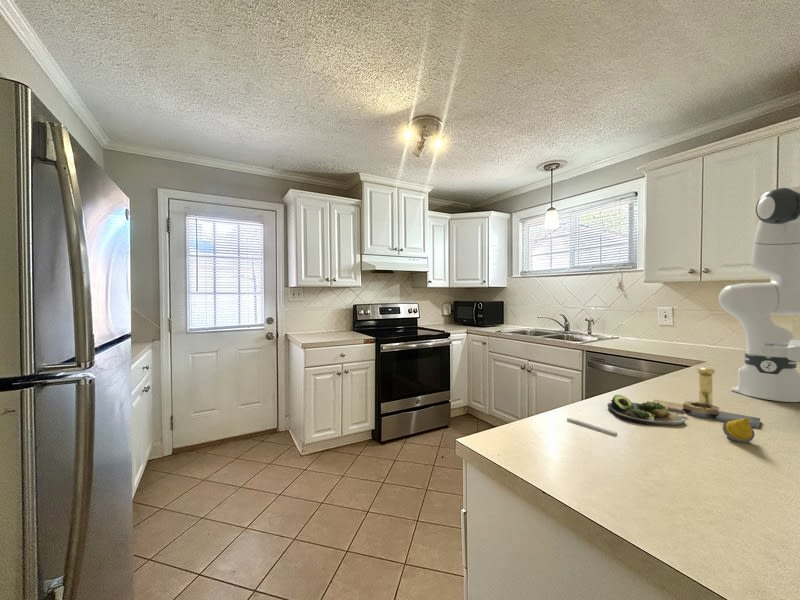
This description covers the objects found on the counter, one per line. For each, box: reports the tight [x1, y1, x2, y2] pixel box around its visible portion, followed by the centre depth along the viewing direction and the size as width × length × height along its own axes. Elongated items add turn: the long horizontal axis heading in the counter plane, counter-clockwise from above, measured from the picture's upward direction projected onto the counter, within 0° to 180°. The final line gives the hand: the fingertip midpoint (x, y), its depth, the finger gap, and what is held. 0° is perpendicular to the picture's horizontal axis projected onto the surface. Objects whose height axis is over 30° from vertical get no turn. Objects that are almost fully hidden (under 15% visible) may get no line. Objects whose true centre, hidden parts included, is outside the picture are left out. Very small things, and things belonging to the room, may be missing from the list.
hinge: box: [651, 398, 761, 429], centre depth 98 cm, size 7×23×2 cm, turn 40°
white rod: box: [566, 417, 618, 437], centre depth 89 cm, size 12×1×1 cm, turn 32°
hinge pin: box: [696, 366, 715, 405], centre depth 104 cm, size 4×4×12 cm
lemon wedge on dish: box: [722, 418, 755, 444], centre depth 79 cm, size 5×5×10 cm
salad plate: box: [607, 394, 687, 426], centre depth 98 cm, size 19×18×5 cm
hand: (763, 347), depth 94 cm, fingers open, 8 cm apart
